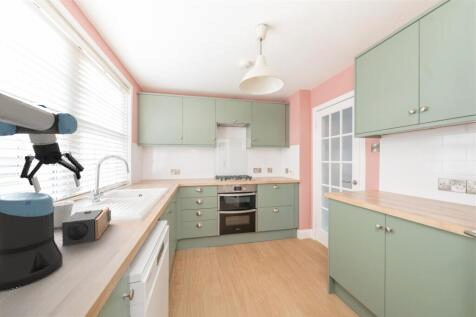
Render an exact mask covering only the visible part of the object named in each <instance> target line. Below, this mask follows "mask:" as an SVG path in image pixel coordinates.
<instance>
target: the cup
mask: <svg viewBox="0 0 476 317" xmlns="http://www.w3.org/2000/svg"><path fill="white" fill-rule="evenodd" d="M74 203H75V201H73V200H61V201H56V202H53V206H54V229H55V228H56V229H58V228H62V222H64V221H65V220H66V219H68V218H69V217H70V216H72V212H73V208H74V207H73V206H74Z"/></svg>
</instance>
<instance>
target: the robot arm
mask: <svg viewBox="0 0 476 317" xmlns="http://www.w3.org/2000/svg"><path fill="white" fill-rule="evenodd" d="M77 130H78V120H77V118H76V116H74V115H73V114H72V113H69V112H63V111H62V112H61V111H60V112H58V111H57V112H56V111H52V110H50V109H49V108H48V105H46V104H44V103H40V102H39V103H38V102H37V103H36V102H35V103H34V102H33V103H31V102H29V101H28V100H24V99H21V98H18V97H15V96H13V95H11V94H8V93H6V92H3V91H0V137H7V136H8V137H9V136H15V135H20V134H21V135H22V134H23V135H24V134H26V135H28V137H29V140H30V143H31V145H32V146H31V147H32V149H33V152H34V154H30V153H29V154H27V155H25V156H24V160H25V162H24V165H23V167H22V170H21V173H20V176H19V178H20V179H27V180H28V182H29V185H30V186H33V188H34V191H35V192H33V191H32V192H31V191H30V192H28V191H27V192H12V193H4V194H0V292H4V291H9V289H10V290H13V289H12V288H14V289H17V288H16V287H18V288H21V287H24V285H25V286H27V285H30V284H32V283H35V282H38V281H39V280H42V279H44V278H46V277H48V276H50V275H51V274H53V273H55V272H56V271H58V270H59V269H60V268H61V267H62V266H63V263H64V262H63V257H64V256H63V254H62V252H61V250H60V248H59V246H58V245H57V243H56V241H55V228H54V206H53V203H54V199H53V197H52V196H51V195H49V194H48V193H43V192H41V191H42V188H41V185H40V182H39V179H38V176H35V175H36V174H37V172H38V171H39V170H40V169H41V167H42V166H43V165H45V166H47V165H56V164H57V165H60V166H63V167H64V168H65V169H67V170H69V171H71V172H72V173H73V174H72V175H73V176H72V177H73V180H74V183H75V188H79V187H80V186H81V182H80V180H81V178H82V176H81V172H83V171H84V169H85V167H84V166H83V165H81V163H80V162H78V161H77V159H76V158H75V157H74V156H73V155H72V152H70V151H67V152H61V149H60V146H59V142H57V140H58V139H57V135H72V134H74V133H76V131H77ZM63 157H64V158H65V159H67V161H66V160H65V159H64V158H63ZM34 160H37V161H38V163H36V165H35V167H34V168H33V169H32V170H31V171H30V169H31V166H32V163H33V161H34ZM68 161H69V162H70V163H69V162H68ZM29 171H30V173H29ZM20 286H21V287H20Z"/></svg>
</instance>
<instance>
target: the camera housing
mask: <svg viewBox="0 0 476 317" xmlns="http://www.w3.org/2000/svg"><path fill="white" fill-rule="evenodd" d="M103 211H104V209H95V210H91V209H87V210H83V211H76V212H75V213H73V214H71V216H70V217H69V218H68V219H66V220H65V221H64V222H62V227H61V233H62V236H61V237H62V240H61V241H62V246H63V247H64V246H71V245H77V244H82V243H90V242H95V241H96V240H97V239H95V219H96V218H97V217H98V216H99V215H100V214H101V213H102V212H103Z"/></svg>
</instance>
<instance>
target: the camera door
mask: <svg viewBox="0 0 476 317" xmlns="http://www.w3.org/2000/svg"><path fill="white" fill-rule="evenodd" d="M111 221H112V209H110V206H107V207H105V209H103V212H102V213H101V214H100V215H99V216H98V217H97V218H96V219H95V239H96V240H99V239H100V238H101V236H102V235H103V233H104V231H105V230H106V228H107V227H108V225H109V224H110V223H111Z"/></svg>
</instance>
